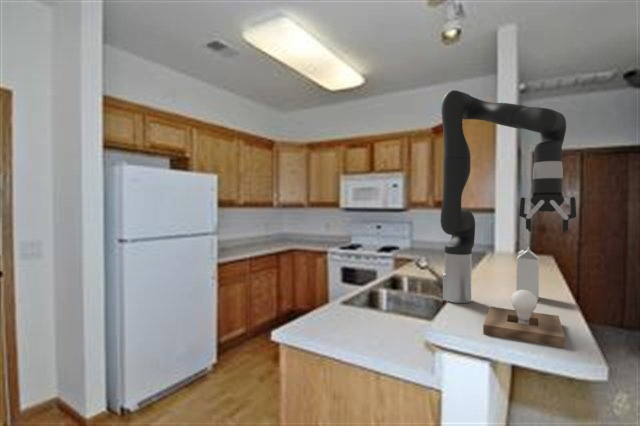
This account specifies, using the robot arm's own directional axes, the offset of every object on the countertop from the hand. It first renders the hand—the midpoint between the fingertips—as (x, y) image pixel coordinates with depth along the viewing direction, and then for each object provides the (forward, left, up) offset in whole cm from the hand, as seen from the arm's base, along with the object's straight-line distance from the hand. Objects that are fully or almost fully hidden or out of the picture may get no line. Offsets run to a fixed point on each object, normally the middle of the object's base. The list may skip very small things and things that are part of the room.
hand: (546, 232), depth 107 cm
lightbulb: (-5, -12, -27) cm, 30 cm away
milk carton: (-5, +29, -27) cm, 40 cm away
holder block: (-6, -12, -27) cm, 30 cm away
